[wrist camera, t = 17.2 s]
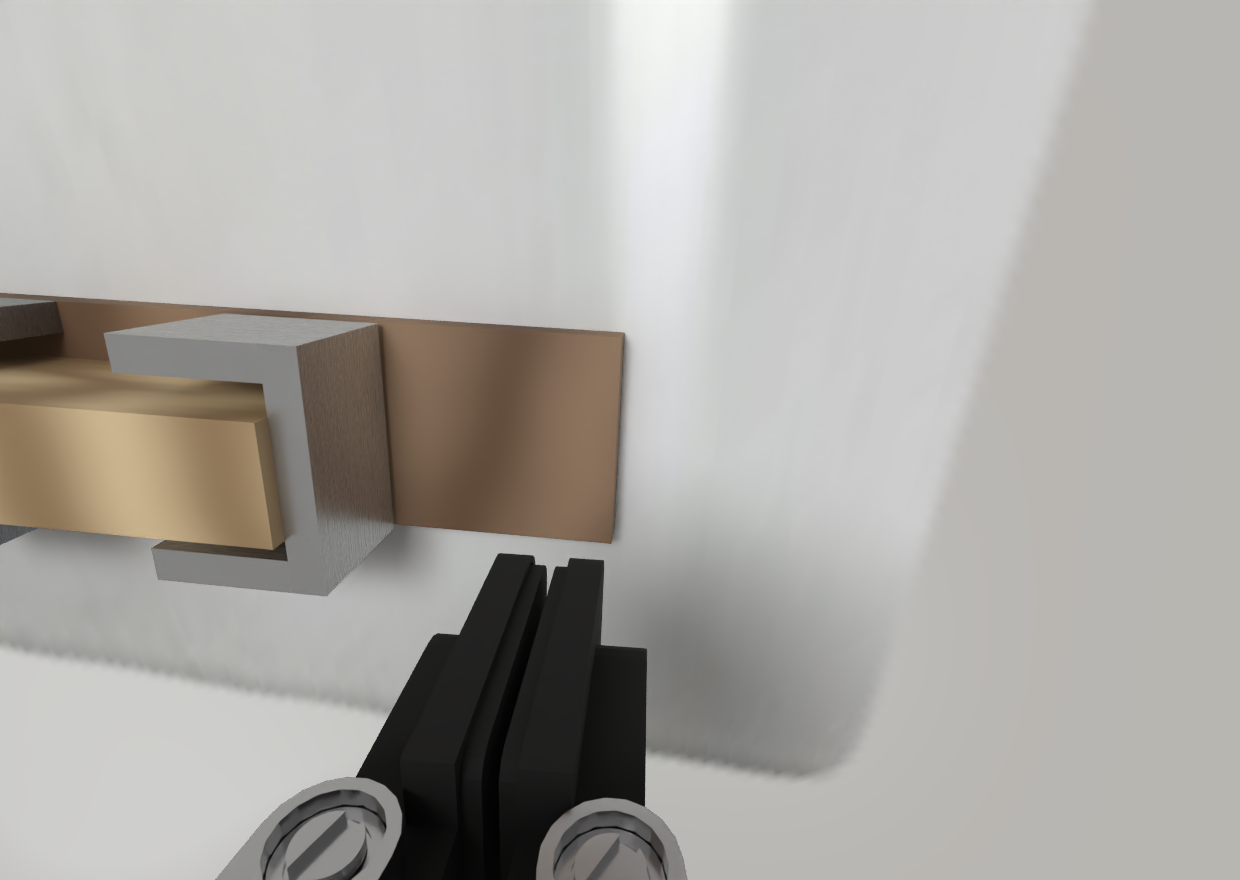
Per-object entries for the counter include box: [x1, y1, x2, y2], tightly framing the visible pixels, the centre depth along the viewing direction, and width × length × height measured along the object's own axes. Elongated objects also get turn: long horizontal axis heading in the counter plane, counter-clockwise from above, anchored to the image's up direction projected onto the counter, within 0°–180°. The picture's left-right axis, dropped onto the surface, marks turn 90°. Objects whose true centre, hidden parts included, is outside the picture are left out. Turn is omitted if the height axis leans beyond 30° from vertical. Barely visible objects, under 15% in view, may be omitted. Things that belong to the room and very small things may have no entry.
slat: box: [0, 353, 285, 550], centre depth 18 cm, size 14×4×5 cm, turn 87°
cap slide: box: [104, 314, 394, 596], centre depth 18 cm, size 5×7×4 cm
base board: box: [0, 293, 624, 544], centre depth 21 cm, size 24×7×1 cm, turn 87°
